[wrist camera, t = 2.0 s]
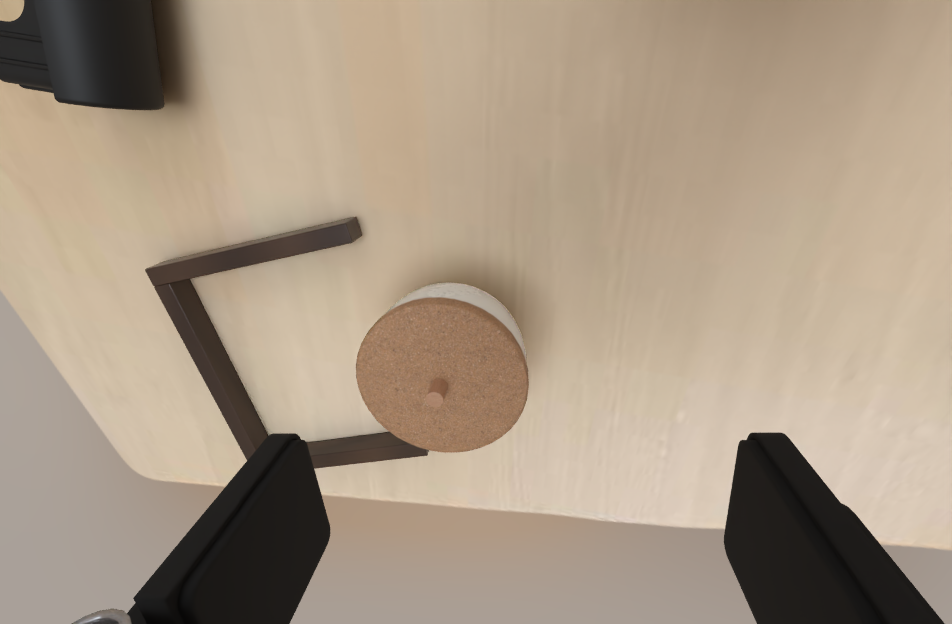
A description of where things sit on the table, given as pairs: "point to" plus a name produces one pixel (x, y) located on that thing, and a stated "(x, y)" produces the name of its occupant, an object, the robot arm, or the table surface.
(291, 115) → the table surface
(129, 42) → the end cap
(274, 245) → the frame
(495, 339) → the trinket box
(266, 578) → the robot arm
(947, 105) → the table surface
